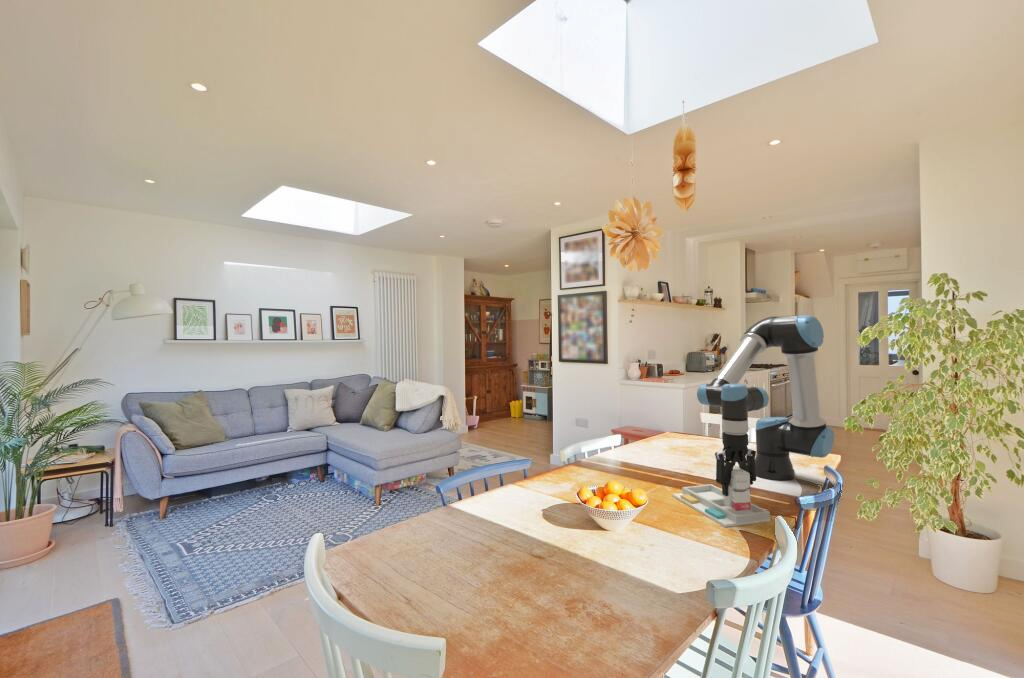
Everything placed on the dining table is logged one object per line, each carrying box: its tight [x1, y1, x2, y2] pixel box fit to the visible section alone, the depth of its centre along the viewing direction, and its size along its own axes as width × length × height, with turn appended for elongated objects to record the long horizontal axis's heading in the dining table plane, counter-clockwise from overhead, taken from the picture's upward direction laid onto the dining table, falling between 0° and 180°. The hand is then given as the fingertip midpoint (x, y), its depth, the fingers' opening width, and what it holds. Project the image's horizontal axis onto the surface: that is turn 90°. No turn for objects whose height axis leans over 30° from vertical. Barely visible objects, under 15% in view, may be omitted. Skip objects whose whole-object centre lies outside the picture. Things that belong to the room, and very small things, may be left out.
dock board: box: [672, 483, 771, 528], centre depth 155 cm, size 16×28×3 cm, turn 13°
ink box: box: [725, 465, 751, 511], centre depth 148 cm, size 9×5×12 cm, turn 1°
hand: (736, 504), depth 148 cm, fingers closed on ink box, 6 cm apart
